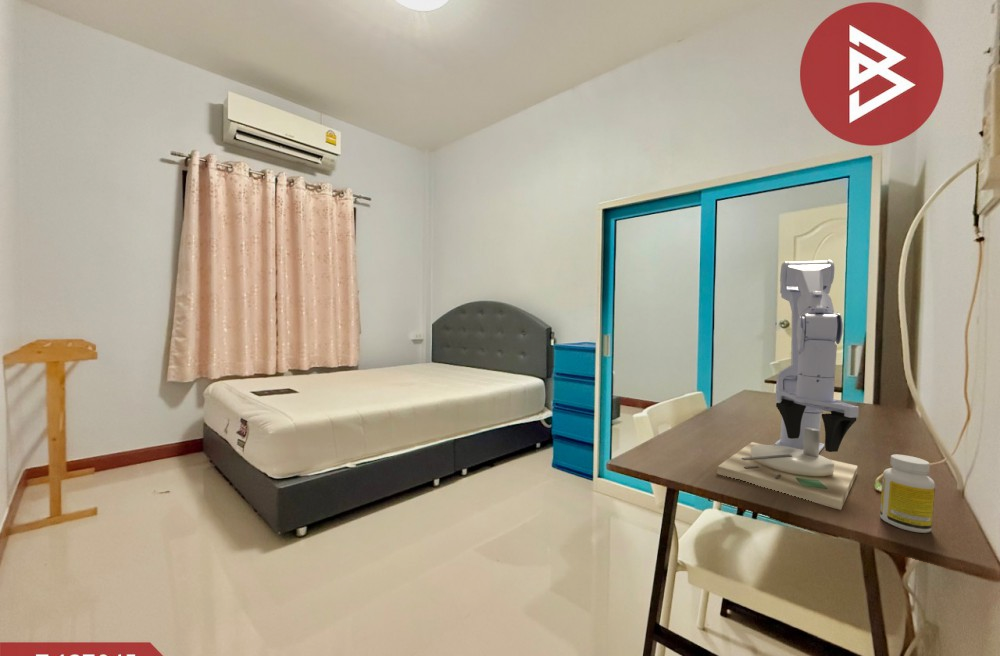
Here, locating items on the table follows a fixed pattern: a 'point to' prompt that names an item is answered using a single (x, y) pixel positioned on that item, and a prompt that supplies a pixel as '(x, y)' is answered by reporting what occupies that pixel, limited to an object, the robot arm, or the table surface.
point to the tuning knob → (795, 456)
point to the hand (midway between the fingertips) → (811, 444)
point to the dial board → (793, 479)
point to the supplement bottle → (908, 494)
